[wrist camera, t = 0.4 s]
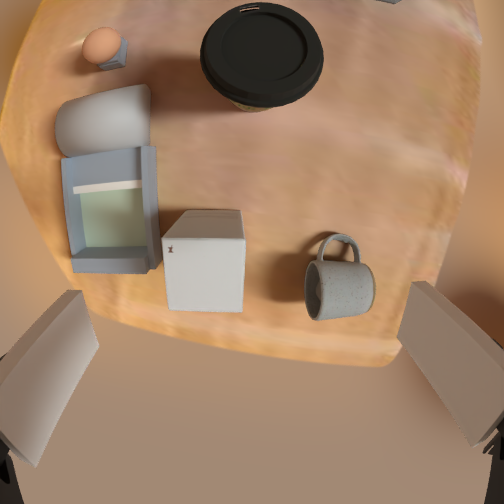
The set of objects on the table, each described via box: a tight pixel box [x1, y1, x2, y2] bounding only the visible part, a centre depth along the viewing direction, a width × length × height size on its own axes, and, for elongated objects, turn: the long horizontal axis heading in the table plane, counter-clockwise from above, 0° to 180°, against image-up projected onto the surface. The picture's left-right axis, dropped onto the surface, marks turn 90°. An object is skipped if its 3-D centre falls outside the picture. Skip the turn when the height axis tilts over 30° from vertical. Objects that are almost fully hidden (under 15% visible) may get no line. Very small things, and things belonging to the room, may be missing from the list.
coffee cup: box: [200, 2, 324, 112], centre depth 23 cm, size 10×10×15 cm
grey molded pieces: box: [55, 36, 162, 274], centre depth 29 cm, size 31×13×8 cm, turn 0°
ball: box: [82, 27, 121, 64], centre depth 22 cm, size 5×5×5 cm
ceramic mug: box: [304, 234, 376, 321], centre depth 35 cm, size 11×8×8 cm
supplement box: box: [161, 210, 246, 312], centre depth 30 cm, size 7×7×13 cm
